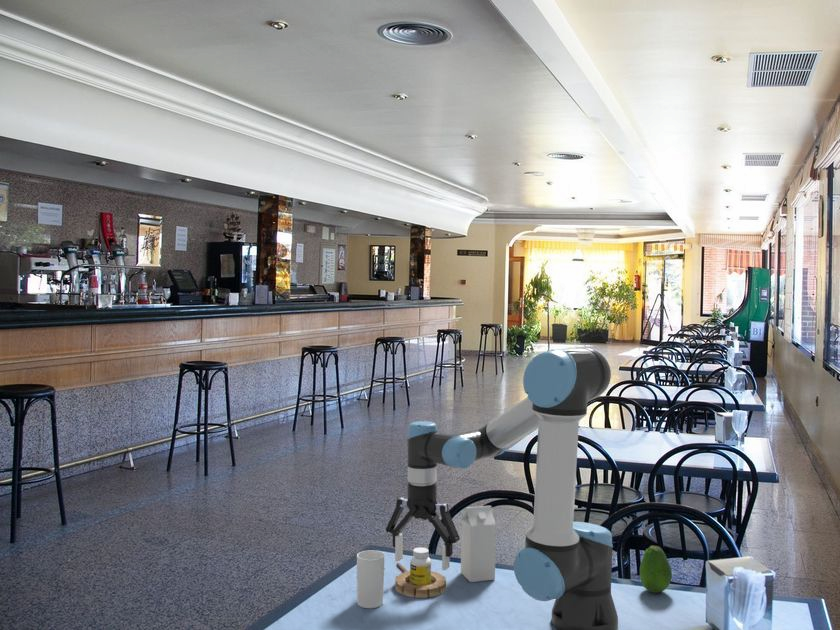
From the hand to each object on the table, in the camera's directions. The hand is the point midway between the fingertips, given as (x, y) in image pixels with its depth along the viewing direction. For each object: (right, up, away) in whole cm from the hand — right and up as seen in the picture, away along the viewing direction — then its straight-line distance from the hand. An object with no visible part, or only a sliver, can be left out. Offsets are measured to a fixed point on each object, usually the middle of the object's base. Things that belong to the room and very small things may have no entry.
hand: (422, 564), depth 198 cm
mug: (-12, -7, -8) cm, 16 cm away
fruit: (+60, -7, 0) cm, 60 cm away
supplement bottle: (0, -6, +1) cm, 6 cm away
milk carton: (+15, -6, +8) cm, 18 cm away
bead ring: (0, -6, +1) cm, 6 cm away
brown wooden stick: (-5, -6, +11) cm, 13 cm away
